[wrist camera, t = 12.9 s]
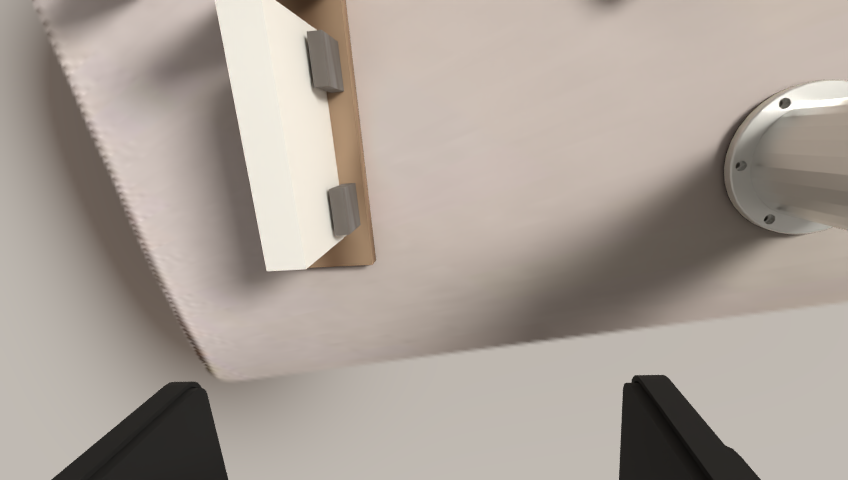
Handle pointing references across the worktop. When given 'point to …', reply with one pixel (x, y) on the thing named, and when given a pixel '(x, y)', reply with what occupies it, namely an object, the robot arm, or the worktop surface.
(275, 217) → the door panel
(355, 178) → the cabinet base
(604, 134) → the worktop surface
